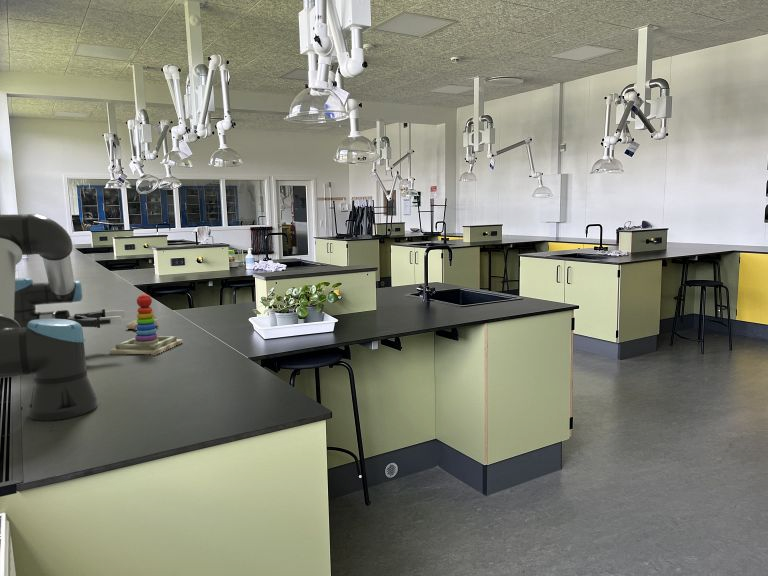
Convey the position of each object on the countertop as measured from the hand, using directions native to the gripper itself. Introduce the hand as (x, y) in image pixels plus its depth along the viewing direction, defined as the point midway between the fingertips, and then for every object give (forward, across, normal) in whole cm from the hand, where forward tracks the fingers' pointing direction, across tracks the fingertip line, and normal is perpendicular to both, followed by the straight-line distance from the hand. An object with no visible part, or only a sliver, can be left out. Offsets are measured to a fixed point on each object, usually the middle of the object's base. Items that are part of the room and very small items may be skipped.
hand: (123, 316), depth 201 cm
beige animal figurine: (+4, -40, -13) cm, 43 cm away
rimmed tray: (+7, 0, -13) cm, 15 cm away
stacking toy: (+7, 0, -11) cm, 13 cm away
